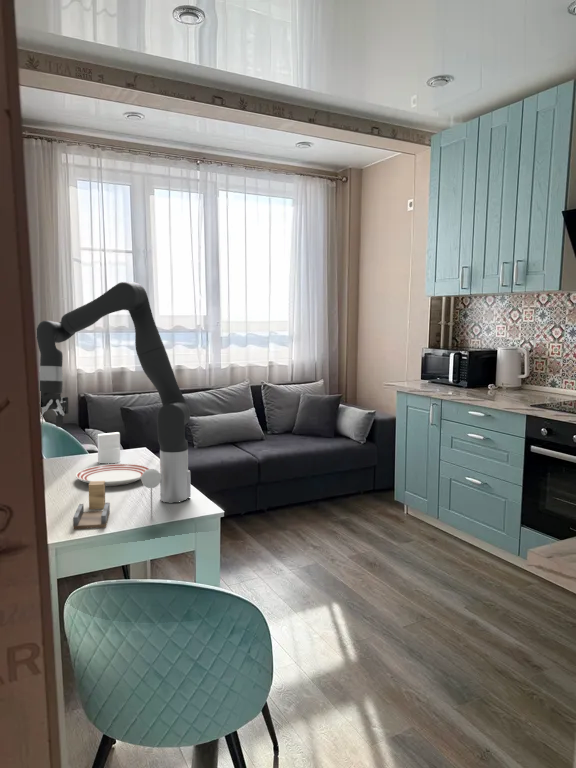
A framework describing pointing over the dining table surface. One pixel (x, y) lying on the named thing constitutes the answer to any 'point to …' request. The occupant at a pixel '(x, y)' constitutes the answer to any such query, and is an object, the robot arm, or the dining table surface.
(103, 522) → the walnut track
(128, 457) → the dining table surface
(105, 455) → the base with upright slab
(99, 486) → the oak block
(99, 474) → the dinner plate
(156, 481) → the lollipop
